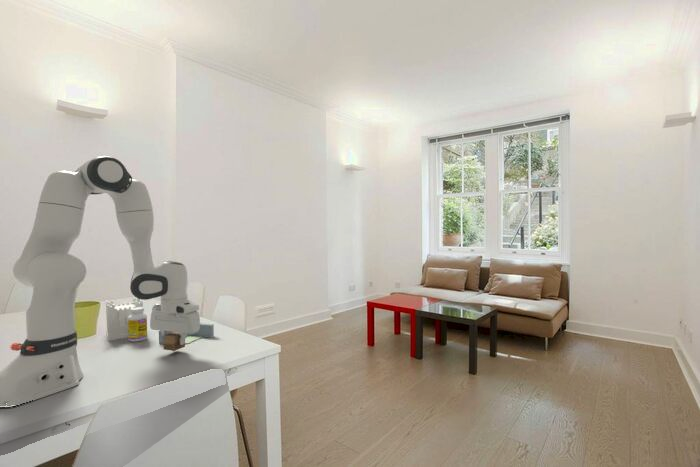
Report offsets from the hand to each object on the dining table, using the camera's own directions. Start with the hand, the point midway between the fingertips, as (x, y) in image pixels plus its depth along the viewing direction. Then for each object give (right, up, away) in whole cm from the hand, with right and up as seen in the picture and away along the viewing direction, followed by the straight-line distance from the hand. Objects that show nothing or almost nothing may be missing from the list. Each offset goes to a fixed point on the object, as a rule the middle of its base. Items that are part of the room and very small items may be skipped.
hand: (174, 343), depth 130 cm
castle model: (-34, -4, +25) cm, 42 cm away
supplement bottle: (-23, -4, +16) cm, 28 cm away
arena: (-2, -3, +15) cm, 16 cm away
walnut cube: (0, -2, 0) cm, 2 cm away
